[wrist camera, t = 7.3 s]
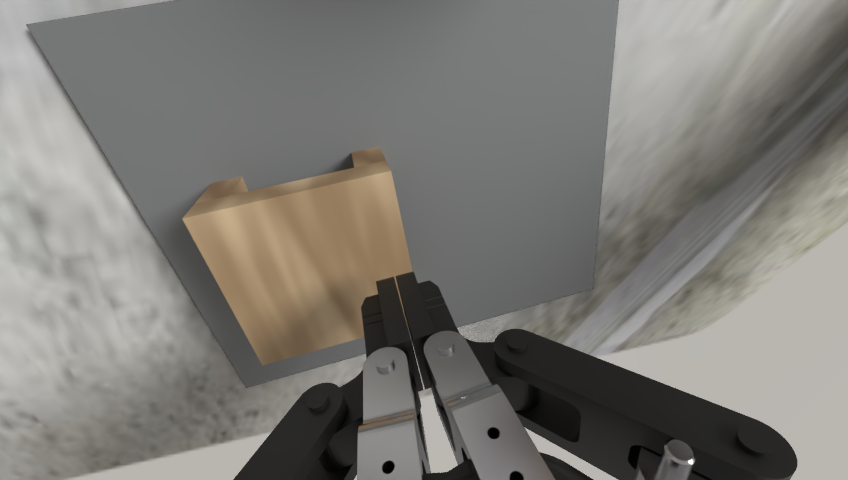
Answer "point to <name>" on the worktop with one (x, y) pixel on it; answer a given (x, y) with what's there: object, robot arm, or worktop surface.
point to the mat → (362, 130)
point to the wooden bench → (302, 253)
